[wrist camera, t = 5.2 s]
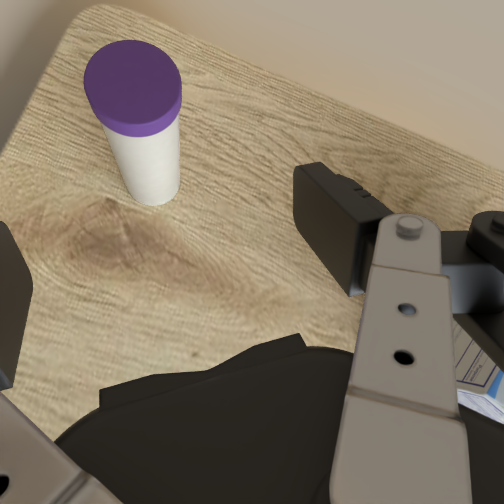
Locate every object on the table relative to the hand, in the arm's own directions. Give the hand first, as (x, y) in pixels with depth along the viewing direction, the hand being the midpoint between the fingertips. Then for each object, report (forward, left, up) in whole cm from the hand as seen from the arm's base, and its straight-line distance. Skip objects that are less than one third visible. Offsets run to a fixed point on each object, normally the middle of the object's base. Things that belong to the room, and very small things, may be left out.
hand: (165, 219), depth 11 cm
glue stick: (0, +6, -12) cm, 13 cm away
